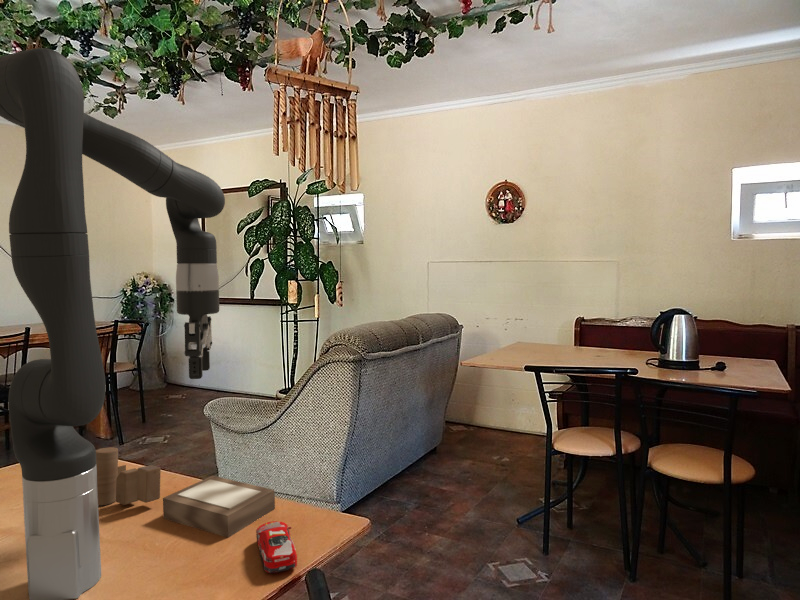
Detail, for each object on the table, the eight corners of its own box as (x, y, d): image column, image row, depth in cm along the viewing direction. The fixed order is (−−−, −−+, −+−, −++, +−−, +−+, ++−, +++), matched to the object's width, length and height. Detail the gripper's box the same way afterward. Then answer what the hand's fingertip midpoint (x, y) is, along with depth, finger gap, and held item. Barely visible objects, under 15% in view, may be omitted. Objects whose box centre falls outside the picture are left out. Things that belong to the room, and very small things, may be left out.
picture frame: (275, 510, 105) (274, 488, 105) (228, 538, 95) (227, 514, 94) (213, 494, 113) (212, 474, 112) (163, 519, 102) (162, 496, 102)
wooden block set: (168, 504, 108) (169, 451, 108) (126, 518, 101) (127, 461, 101) (117, 486, 118) (118, 438, 118) (75, 497, 111) (76, 446, 111)
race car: (254, 536, 94) (253, 513, 94) (287, 530, 96) (286, 508, 95) (262, 580, 82) (262, 554, 81) (299, 572, 83) (299, 547, 83)
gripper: (213, 289, 97) (215, 381, 98) (223, 286, 111) (225, 367, 112) (167, 289, 96) (170, 382, 97) (184, 287, 110) (186, 368, 111)
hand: (199, 374), depth 104 cm, fingers open, 8 cm apart
